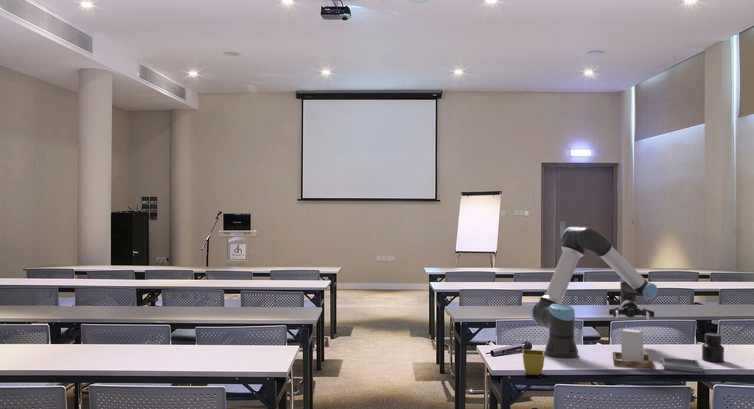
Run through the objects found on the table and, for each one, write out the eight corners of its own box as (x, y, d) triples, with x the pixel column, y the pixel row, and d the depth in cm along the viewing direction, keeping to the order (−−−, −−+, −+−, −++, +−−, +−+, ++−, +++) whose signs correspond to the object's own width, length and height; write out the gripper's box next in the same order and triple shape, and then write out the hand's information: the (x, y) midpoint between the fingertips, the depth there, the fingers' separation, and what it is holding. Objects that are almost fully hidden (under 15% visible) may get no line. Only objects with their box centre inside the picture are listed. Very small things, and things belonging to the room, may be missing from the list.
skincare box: (643, 363, 277) (644, 330, 277) (639, 365, 273) (639, 332, 273) (625, 360, 283) (625, 328, 283) (620, 362, 278) (620, 329, 278)
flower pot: (544, 377, 253) (544, 355, 253) (522, 375, 255) (523, 354, 255) (543, 371, 261) (543, 350, 261) (522, 370, 263) (522, 349, 263)
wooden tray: (614, 365, 272) (614, 360, 272) (612, 357, 288) (612, 351, 288) (653, 369, 267) (653, 363, 267) (649, 360, 283) (649, 354, 283)
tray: (664, 369, 267) (664, 364, 267) (660, 361, 281) (660, 357, 281) (702, 372, 262) (702, 368, 262) (696, 364, 276) (696, 360, 276)
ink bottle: (729, 362, 280) (729, 336, 280) (712, 363, 278) (712, 337, 278) (713, 357, 290) (713, 332, 290) (697, 358, 288) (697, 332, 288)
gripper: (656, 317, 305) (661, 325, 285) (603, 314, 313) (604, 322, 293) (656, 302, 305) (661, 309, 285) (603, 300, 313) (604, 306, 293)
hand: (632, 316), depth 289 cm, fingers open, 13 cm apart
